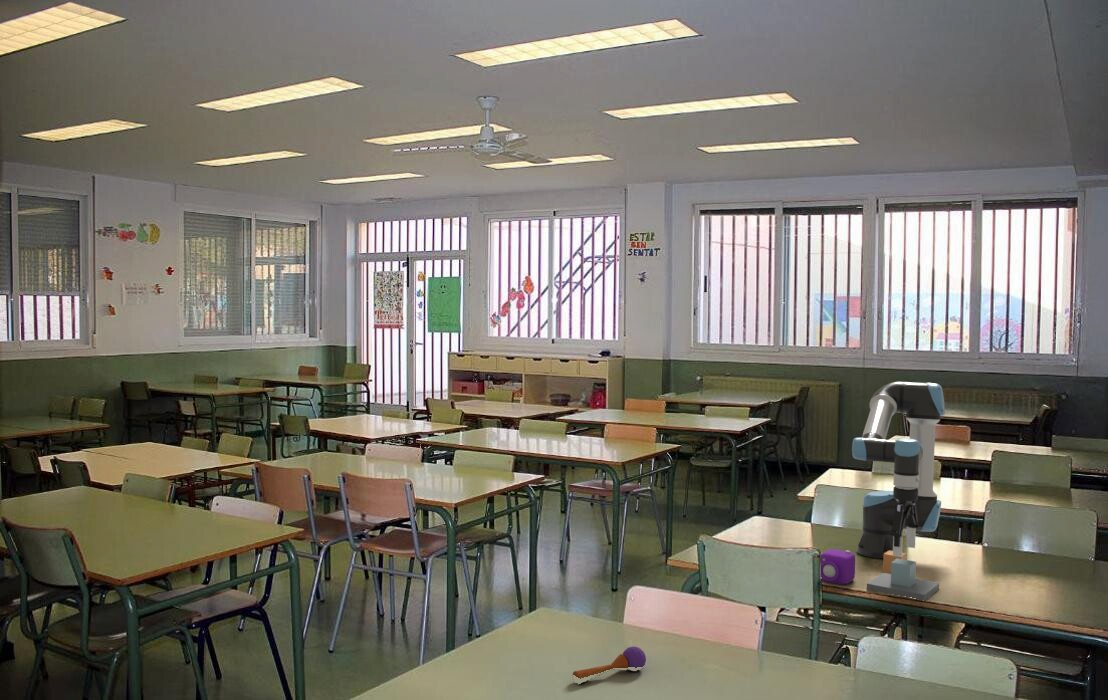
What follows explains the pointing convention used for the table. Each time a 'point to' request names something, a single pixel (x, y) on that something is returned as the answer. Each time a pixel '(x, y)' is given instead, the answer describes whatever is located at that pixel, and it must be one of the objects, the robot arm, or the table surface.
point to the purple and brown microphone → (617, 662)
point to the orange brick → (890, 560)
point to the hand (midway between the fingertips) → (904, 551)
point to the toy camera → (838, 566)
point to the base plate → (903, 587)
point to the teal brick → (903, 572)
